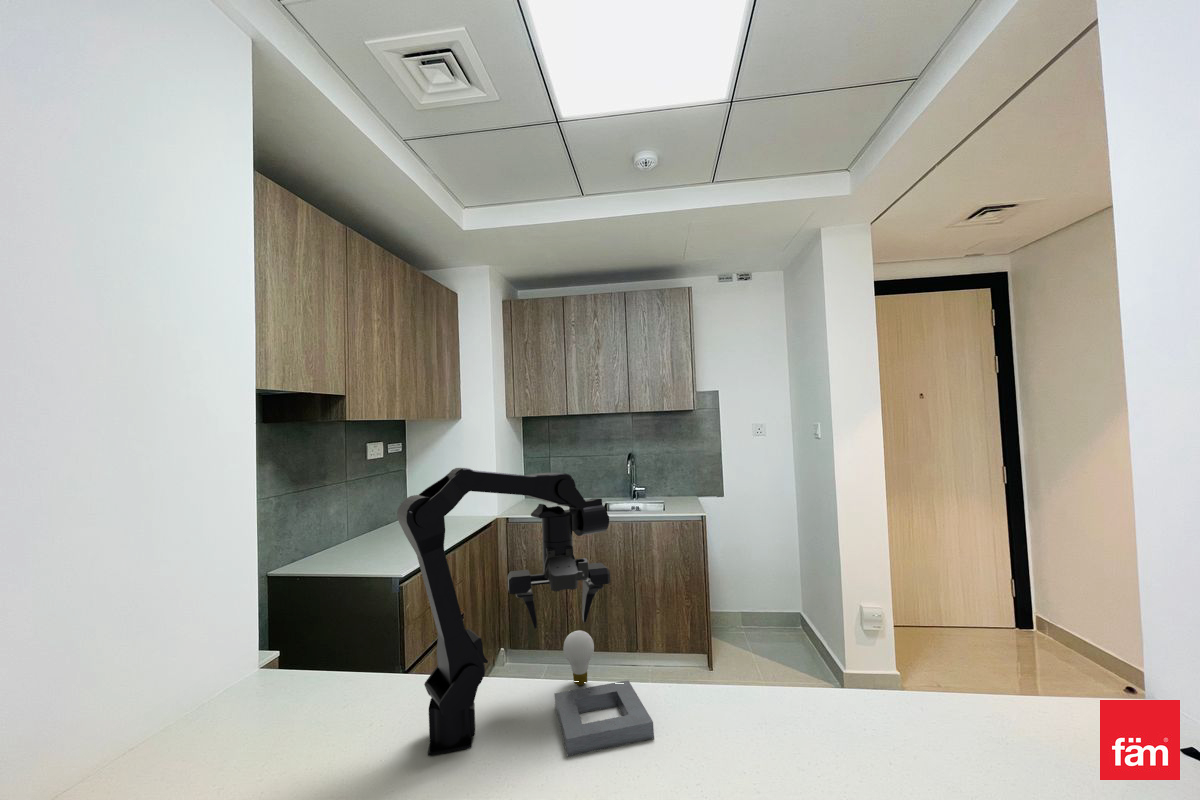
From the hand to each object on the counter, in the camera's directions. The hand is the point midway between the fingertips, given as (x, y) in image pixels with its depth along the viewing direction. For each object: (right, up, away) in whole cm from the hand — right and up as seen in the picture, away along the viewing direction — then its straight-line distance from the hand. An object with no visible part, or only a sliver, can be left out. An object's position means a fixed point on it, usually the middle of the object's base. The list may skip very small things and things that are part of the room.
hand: (560, 624), depth 90 cm
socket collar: (+8, -11, -10) cm, 17 cm away
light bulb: (+4, -13, +2) cm, 13 cm away
